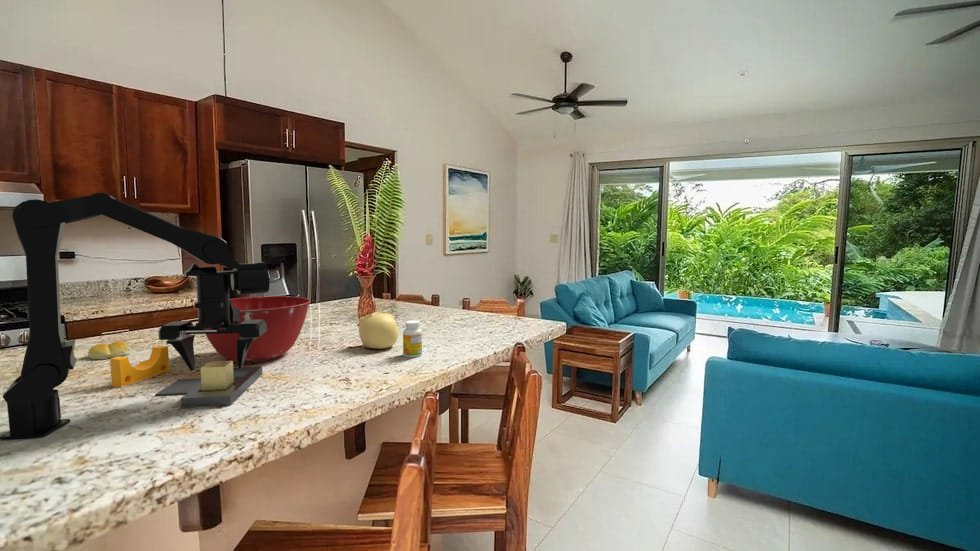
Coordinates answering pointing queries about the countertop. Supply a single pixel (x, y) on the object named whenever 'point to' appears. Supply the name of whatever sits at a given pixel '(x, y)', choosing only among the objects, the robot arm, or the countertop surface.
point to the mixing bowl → (281, 327)
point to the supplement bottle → (412, 339)
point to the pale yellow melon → (378, 330)
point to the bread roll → (109, 350)
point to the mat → (180, 387)
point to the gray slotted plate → (223, 398)
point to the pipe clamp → (139, 367)
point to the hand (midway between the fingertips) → (216, 369)
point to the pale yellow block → (217, 376)
